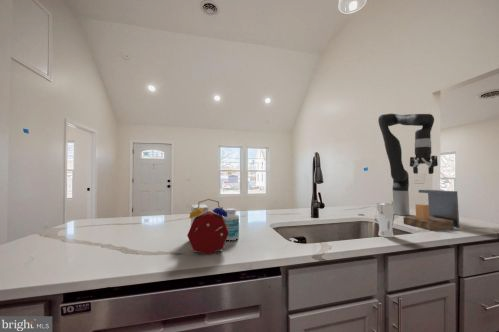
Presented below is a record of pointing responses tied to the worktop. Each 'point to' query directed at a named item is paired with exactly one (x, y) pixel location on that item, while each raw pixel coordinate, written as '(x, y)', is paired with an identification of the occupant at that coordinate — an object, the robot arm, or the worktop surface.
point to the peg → (422, 211)
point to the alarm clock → (208, 230)
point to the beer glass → (385, 219)
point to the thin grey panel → (443, 205)
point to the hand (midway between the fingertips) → (423, 173)
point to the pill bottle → (232, 224)
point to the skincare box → (198, 208)
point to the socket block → (429, 223)
